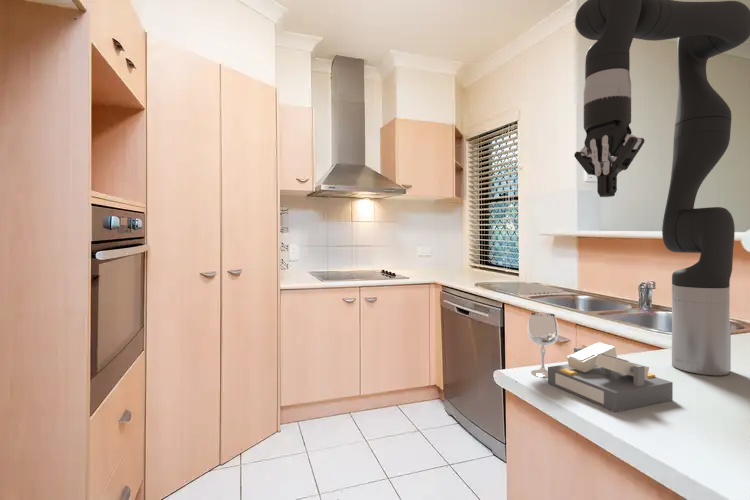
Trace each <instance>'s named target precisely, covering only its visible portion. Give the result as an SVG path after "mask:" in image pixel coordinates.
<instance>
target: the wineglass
mask: <svg viewBox="0 0 750 500" xmlns="http://www.w3.org/2000/svg"><path fill="white" fill-rule="evenodd" d="M529 314H530V315H529V318H528V321H527V329H526V330H527V336H528V338H529V340H530V342H532V343H533V344H535V345H536V346H539V347H541V348H540V350H539V353H540V357H541V366H540V368H539V369H534V370H531V371H530V374H531V375H533V376H535V377H540V378H548V369H546V368H545V357H546V356H545V355H546V347H548V346H549V347H550V346H552V345H553V344H555V343H556V342H557V341H558V339H559V338H558V337H559V324H558V320H557V317H556V314H554V313H549V312H531V313H529Z"/></svg>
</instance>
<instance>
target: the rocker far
mask: <svg viewBox="0 0 750 500" xmlns="http://www.w3.org/2000/svg"><path fill="white" fill-rule="evenodd" d="M595 365H597V366H600V367H603V368H606V369H609V370H612V371H616V372H620V373H624V374H628V375H632V376H634V366H635V365H640V363H635V362H633V361H629V360H626V359H622V358H620V357H618V356H617V357H613V356H609V355H605V354H602V353H600V354H597V358H596V363H595ZM641 365H642V366H644V378H645V379H647V376H648V373H649V370H650V366H646V365H643V364H641Z"/></svg>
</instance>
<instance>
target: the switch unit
mask: <svg viewBox="0 0 750 500" xmlns="http://www.w3.org/2000/svg"><path fill="white" fill-rule="evenodd" d="M583 349H584V348H583V347H581V346H579V347H578V346H577V347H573V354H574V353H576V352H578V351H581V350H583ZM642 365H643V364H639V365H635V366H634V376H632V375H628V374H624V373H620V372H616V371H612V370H609V369H606V368H603V367H600V366H597V367H595V368H593V369H591V370H589V371H587V372H582V371H579V370H576V369H574V368H571V367H569V364H568V363H566V364H558V365H552V366H547V371H548V377H547V383H548V384H549V385H552V386H554V387H557V388H559V389H561V390H564V391H566V392H567V393H568V392H569V393H570V394H573V395H575V396H577V397H580V398H582V399H585V400H586V401H589V402H592V403H593V404H596V405H598V406H601V407H603V408H605V409H607V410H610V411H612V412H613V413H614V412H615V413H618V412H622V411H627V410H633V409H637V408H642V407H647V406H650V405H656V404H661V403H666V402H670V401H673V395H674V394H673V387H674V386H673V385H674V383H673V381H670V380H667V379H663V378H660V377H657V376H656V374H653V373H651V372H648V376H647V379H645V378H644V366H645V365H643V366H642Z"/></svg>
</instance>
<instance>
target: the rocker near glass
mask: <svg viewBox="0 0 750 500" xmlns="http://www.w3.org/2000/svg"><path fill="white" fill-rule="evenodd" d="M600 353H602V354H605V355H609V356H613V357H617V358H618V355H617V350H616V346H614V345H609V344H606V343H603V342H596V343H594V344H591V345H589V346H587V347H586V348H583V350H581V351H578V352H576V353H574V352H573V353H571V354H570V355H567V364H569V367H571V368H574V369H576V370H579V371H582V372H587V371H589V370H591V369H593V368H595V367H597V365H595V363H596V358H597V354H600Z"/></svg>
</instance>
